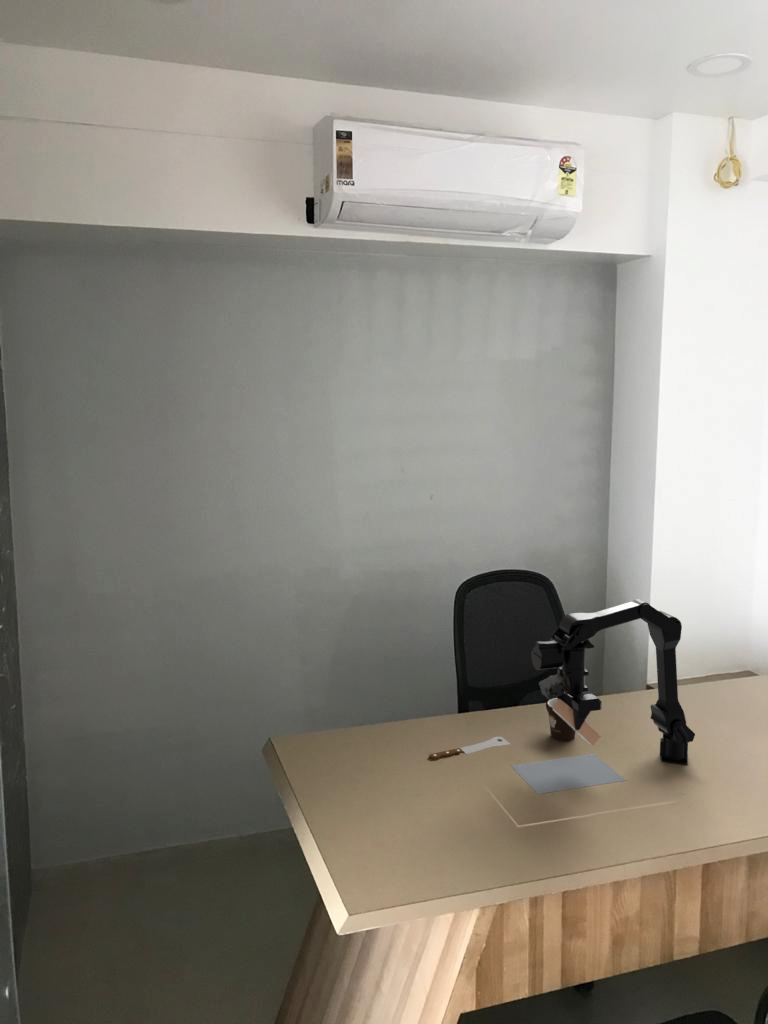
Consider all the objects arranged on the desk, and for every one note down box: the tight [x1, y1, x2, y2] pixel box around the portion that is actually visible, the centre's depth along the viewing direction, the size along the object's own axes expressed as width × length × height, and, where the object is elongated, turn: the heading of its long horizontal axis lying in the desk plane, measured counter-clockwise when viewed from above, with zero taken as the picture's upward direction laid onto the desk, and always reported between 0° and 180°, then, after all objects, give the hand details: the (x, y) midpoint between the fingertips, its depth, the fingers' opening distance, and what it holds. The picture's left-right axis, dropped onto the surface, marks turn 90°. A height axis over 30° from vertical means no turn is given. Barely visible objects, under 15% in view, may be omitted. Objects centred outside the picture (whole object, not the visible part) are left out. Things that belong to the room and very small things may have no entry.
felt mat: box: [510, 753, 627, 795], centre depth 220 cm, size 24×16×1 cm, turn 105°
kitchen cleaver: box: [428, 736, 511, 761], centre depth 233 cm, size 24×1×10 cm
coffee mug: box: [545, 697, 576, 742], centre depth 243 cm, size 12×9×10 cm
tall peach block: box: [552, 699, 601, 746], centre depth 219 cm, size 3×6×12 cm
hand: (571, 725), depth 219 cm, fingers closed on tall peach block, 5 cm apart
